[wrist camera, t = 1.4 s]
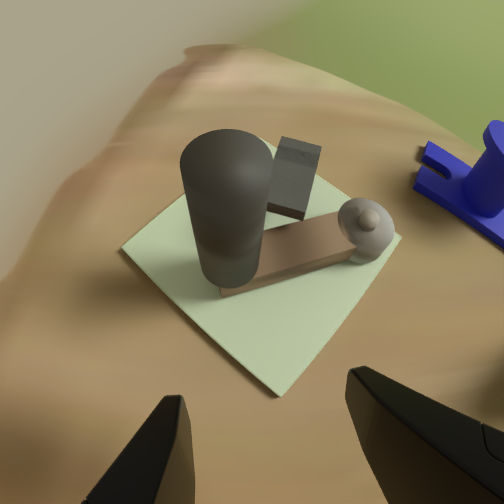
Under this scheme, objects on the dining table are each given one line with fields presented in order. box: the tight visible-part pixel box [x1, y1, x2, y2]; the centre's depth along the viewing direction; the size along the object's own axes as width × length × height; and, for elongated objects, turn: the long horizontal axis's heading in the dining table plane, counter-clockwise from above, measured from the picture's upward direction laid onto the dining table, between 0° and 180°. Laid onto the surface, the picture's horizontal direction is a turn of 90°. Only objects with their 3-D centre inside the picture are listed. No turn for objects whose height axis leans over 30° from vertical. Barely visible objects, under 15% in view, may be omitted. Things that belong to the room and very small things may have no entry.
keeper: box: [266, 136, 321, 221], centre depth 23 cm, size 3×6×5 cm, turn 163°
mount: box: [413, 120, 504, 249], centre depth 24 cm, size 15×8×9 cm, turn 59°
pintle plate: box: [122, 138, 402, 397], centre depth 24 cm, size 16×15×1 cm
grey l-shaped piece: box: [180, 129, 395, 298], centre depth 18 cm, size 14×4×11 cm, turn 108°
